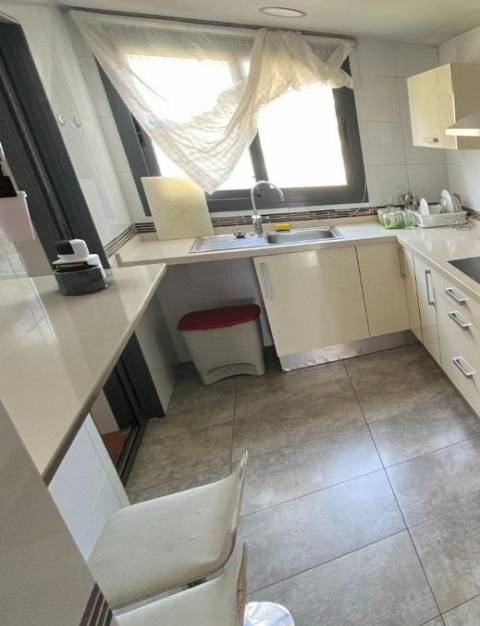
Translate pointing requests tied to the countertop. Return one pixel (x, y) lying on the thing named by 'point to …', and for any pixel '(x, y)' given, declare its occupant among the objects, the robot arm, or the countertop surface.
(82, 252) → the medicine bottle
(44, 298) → the countertop surface
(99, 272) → the stand
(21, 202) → the smoothie
